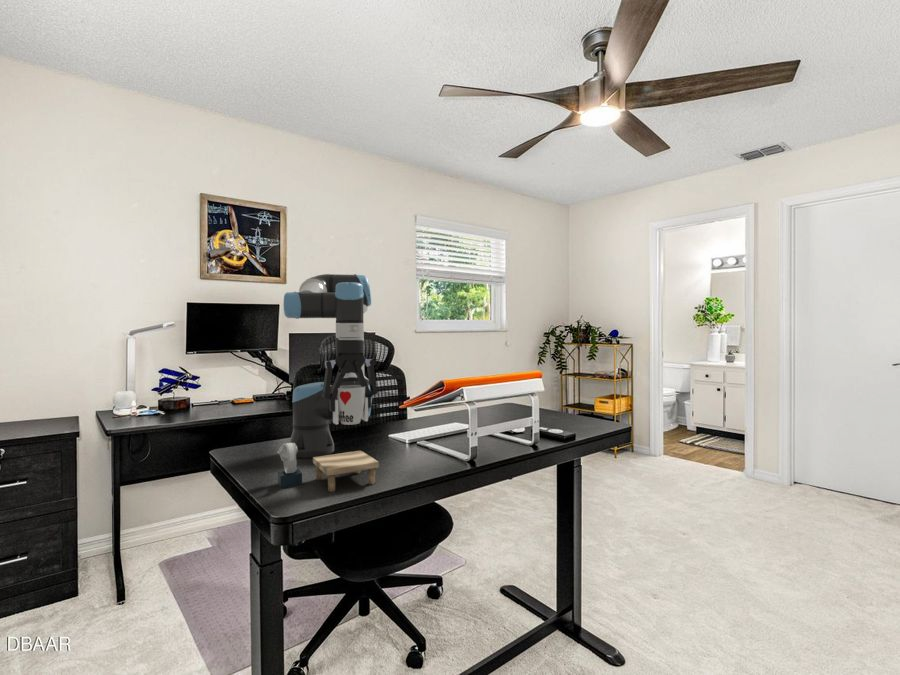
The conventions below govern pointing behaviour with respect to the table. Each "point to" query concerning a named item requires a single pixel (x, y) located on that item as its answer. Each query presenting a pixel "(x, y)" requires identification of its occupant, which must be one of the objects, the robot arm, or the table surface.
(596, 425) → the table surface
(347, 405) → the cup
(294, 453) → the watch
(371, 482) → the small wooden table
